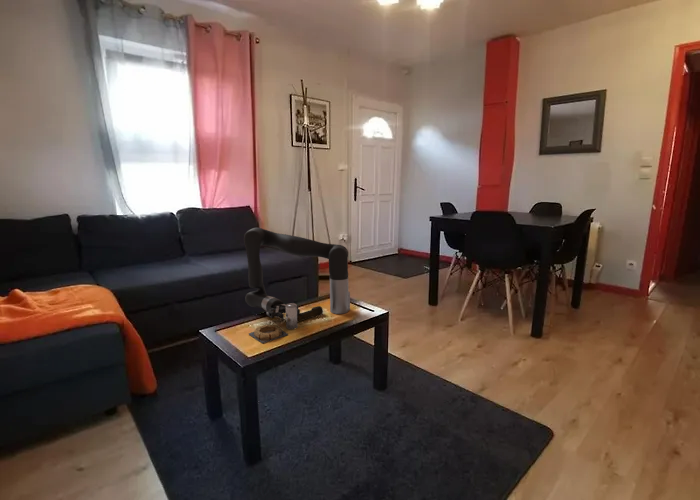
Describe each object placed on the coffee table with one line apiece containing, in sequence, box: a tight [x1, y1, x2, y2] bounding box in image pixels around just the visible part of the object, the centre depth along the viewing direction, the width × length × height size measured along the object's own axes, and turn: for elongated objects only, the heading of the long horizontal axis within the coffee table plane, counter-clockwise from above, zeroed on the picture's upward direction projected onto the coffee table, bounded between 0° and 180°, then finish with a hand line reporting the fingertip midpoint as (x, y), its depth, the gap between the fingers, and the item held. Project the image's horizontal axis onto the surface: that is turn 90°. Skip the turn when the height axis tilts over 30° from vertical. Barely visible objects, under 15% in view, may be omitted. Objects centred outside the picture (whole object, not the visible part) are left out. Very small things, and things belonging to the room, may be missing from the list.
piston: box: [285, 302, 299, 330], centre depth 162 cm, size 5×5×11 cm
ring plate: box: [248, 324, 289, 344], centre depth 155 cm, size 12×12×2 cm
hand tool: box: [297, 305, 324, 322], centre depth 172 cm, size 19×4×5 cm, turn 130°
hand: (291, 314), depth 162 cm, fingers open, 8 cm apart
